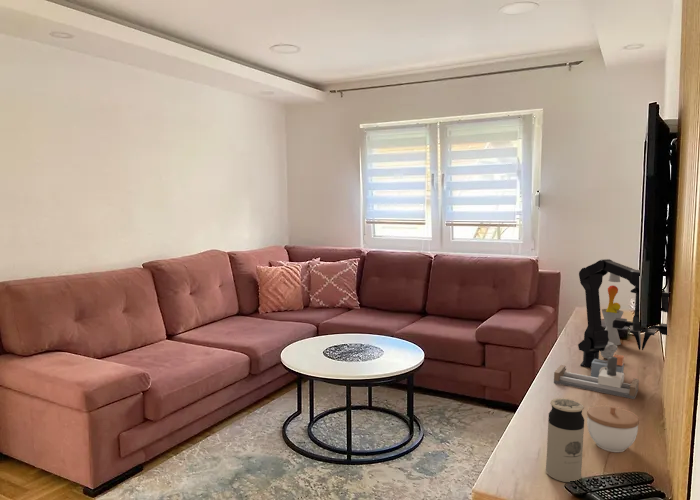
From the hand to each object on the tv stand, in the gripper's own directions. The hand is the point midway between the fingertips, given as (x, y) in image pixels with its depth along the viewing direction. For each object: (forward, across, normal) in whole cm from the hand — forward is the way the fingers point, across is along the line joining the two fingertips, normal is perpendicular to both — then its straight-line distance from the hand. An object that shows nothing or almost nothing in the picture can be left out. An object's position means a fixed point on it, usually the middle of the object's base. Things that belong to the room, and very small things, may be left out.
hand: (641, 349), depth 187 cm
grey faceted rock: (+13, -14, +27) cm, 33 cm away
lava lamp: (+13, -18, +54) cm, 58 cm away
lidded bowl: (+13, -1, -57) cm, 59 cm away
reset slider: (+7, -7, 0) cm, 10 cm away
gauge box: (+13, -10, 0) cm, 17 cm away
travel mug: (+13, -8, -80) cm, 81 cm away
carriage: (+11, -8, -11) cm, 17 cm away
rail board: (+13, -12, -11) cm, 21 cm away
